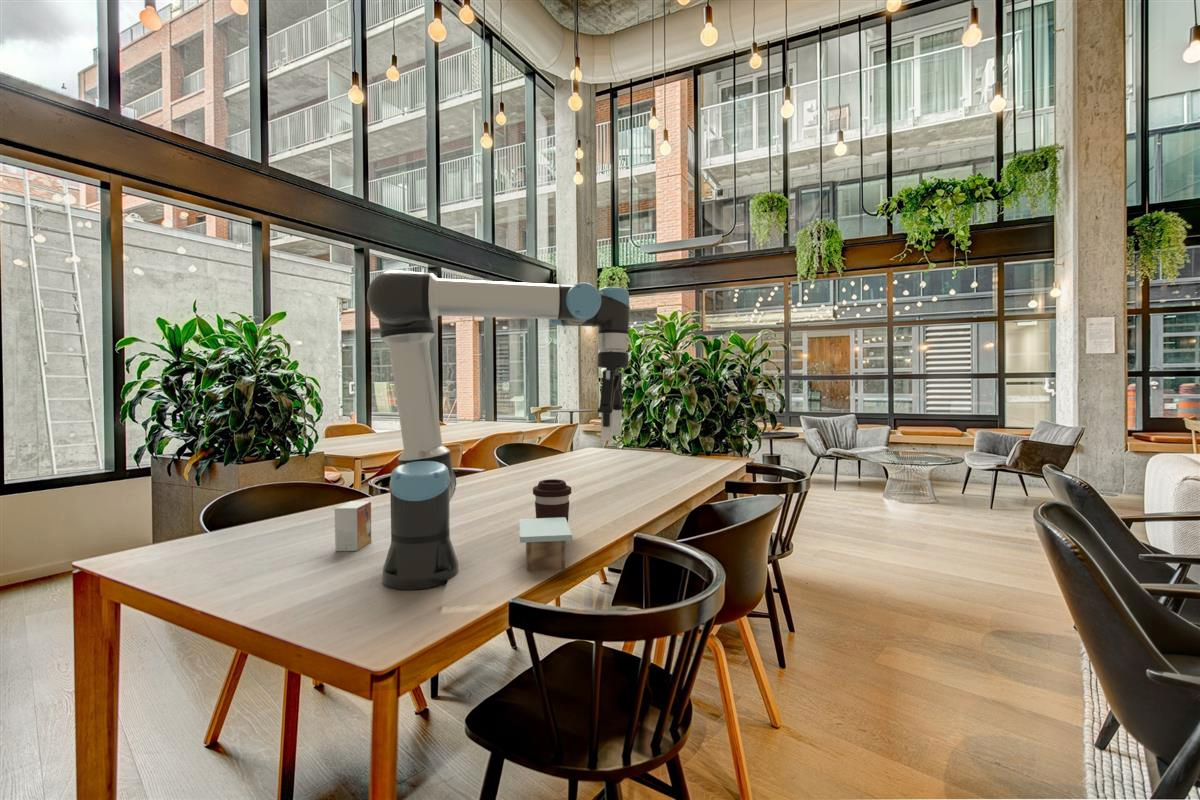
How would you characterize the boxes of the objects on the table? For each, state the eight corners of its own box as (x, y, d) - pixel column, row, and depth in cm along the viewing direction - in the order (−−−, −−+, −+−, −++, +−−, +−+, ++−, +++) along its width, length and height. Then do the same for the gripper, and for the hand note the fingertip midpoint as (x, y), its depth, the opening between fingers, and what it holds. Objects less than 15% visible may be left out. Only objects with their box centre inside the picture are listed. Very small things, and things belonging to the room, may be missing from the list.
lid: (520, 546, 114) (520, 537, 114) (519, 527, 129) (519, 519, 129) (571, 544, 116) (571, 534, 116) (565, 525, 131) (565, 517, 131)
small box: (357, 551, 130) (356, 508, 130) (334, 551, 130) (333, 508, 130) (372, 541, 138) (371, 500, 138) (350, 541, 139) (349, 500, 138)
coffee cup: (553, 547, 134) (553, 486, 134) (525, 539, 140) (524, 482, 140) (579, 537, 142) (579, 480, 141) (551, 531, 148) (550, 476, 147)
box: (527, 574, 115) (527, 541, 115) (525, 553, 129) (525, 524, 129) (564, 572, 117) (564, 540, 116) (559, 551, 130) (559, 522, 130)
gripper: (620, 348, 120) (618, 443, 121) (634, 354, 145) (633, 433, 146) (587, 348, 122) (585, 442, 122) (607, 354, 146) (605, 432, 147)
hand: (611, 438), depth 134 cm, fingers open, 13 cm apart
